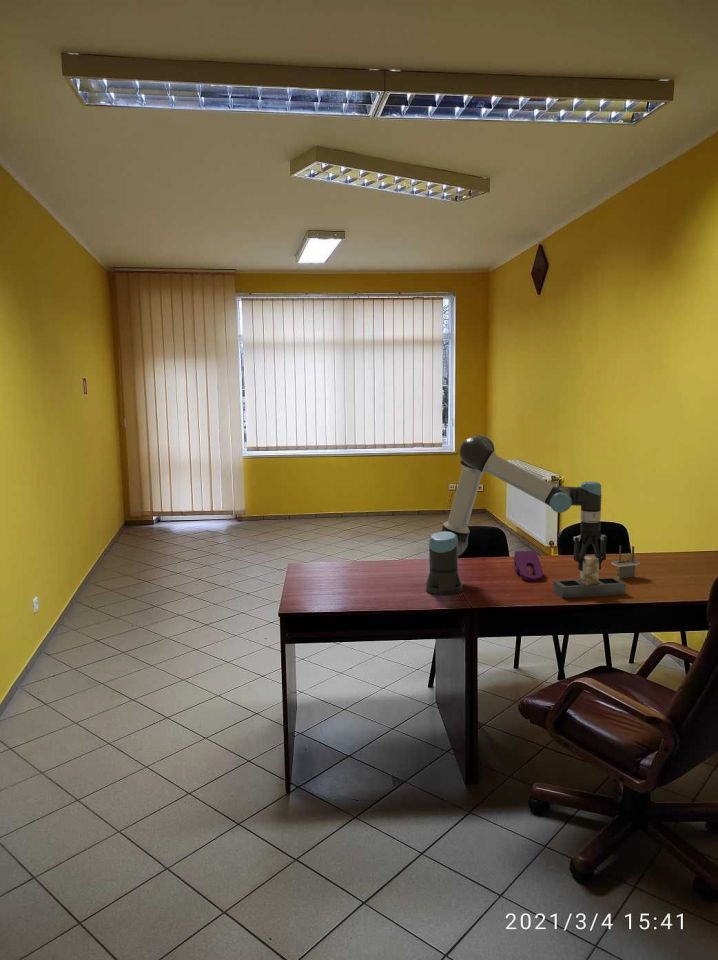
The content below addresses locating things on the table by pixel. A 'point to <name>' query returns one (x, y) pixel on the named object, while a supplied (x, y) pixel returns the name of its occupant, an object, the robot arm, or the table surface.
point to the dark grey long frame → (589, 588)
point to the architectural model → (626, 565)
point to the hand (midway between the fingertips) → (589, 577)
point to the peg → (591, 570)
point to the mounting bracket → (525, 560)
